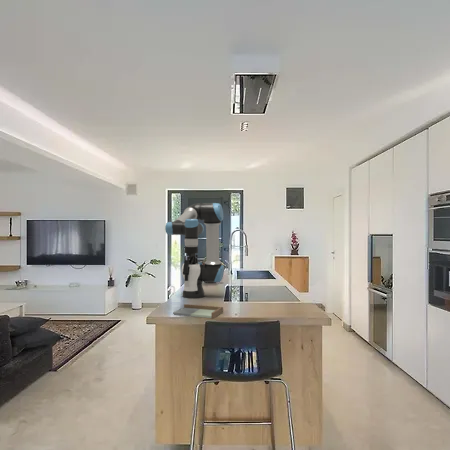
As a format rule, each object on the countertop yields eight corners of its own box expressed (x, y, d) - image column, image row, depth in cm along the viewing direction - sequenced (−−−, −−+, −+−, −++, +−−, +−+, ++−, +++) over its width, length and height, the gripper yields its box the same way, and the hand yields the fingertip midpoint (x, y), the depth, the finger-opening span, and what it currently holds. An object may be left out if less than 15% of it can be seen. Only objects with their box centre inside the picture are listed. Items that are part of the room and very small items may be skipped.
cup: (182, 292, 236) (182, 264, 236) (180, 289, 247) (180, 262, 247) (201, 291, 238) (201, 264, 238) (198, 288, 249) (199, 262, 249)
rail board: (184, 309, 255) (184, 304, 255) (222, 312, 247) (222, 307, 247) (173, 314, 240) (173, 309, 240) (213, 318, 232) (213, 312, 232)
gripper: (192, 245, 254) (192, 282, 255) (176, 247, 233) (176, 287, 233) (204, 245, 252) (204, 282, 252) (189, 247, 230) (188, 288, 230)
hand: (190, 285), depth 243 cm, fingers closed on cup, 11 cm apart
